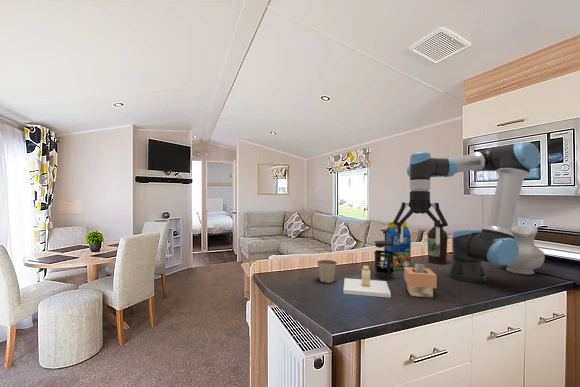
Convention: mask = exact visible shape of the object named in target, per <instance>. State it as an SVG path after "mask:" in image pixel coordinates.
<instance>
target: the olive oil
mask: <svg viewBox="0 0 580 387" xmlns="http://www.w3.org/2000/svg"><path fill="white" fill-rule="evenodd" d="M437 220H438V221H439V222H440V223H441V220H440V219H437ZM433 224H434V226H432V228H431V229H430V230H429V231H428V233H427V235H426V236H427V237H426V238H427V257H428V258H427V260H428V263H431V264H435V265H446V264H447V253H448V251H447V250H448V240H449V239H448V238H449V236H448V234H447V232H446V230H444V229H443V234H442V236H440V244H436V227H438V226H437V225H436V223H435V222H434V221H433Z"/></svg>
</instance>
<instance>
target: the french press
mask: <svg viewBox="0 0 580 387" xmlns="http://www.w3.org/2000/svg"><path fill="white" fill-rule="evenodd" d="M379 231H380V232H382V234H383V235H385V231H389V230H387V228H386V229H383V228H382V229H381V228H380V229H379ZM374 244H375V248H385V246H391V247H393V244H394V242H390V241H385V240H375V241H374ZM373 252H374V255H373V256H374V269H373V273H374V274H373V277H374V278H375V279H377V280H380V281H391V280H394V279H395V274H394V273H395V270H393V256H394V253H393V252H390V251H384V250H381V249H380V250H379V249H377V250H375V251H373ZM384 253H386V254H384ZM384 257H387V262H385V261H384V260H383V261H382V258H384ZM385 267H387V268H385Z"/></svg>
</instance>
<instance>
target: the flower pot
mask: <svg viewBox="0 0 580 387" xmlns="http://www.w3.org/2000/svg"><path fill="white" fill-rule="evenodd" d="M316 264H317V267H318V275H319V281H320V282H321V283H326V284H328V283H329V284H330V283H333V282H335V280H334V279H335V273H336V267H337V265H338V262H337V261H336V260H331V259H321V260H320V259H319V260H317V261H316Z"/></svg>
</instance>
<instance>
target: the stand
mask: <svg viewBox="0 0 580 387" xmlns="http://www.w3.org/2000/svg"><path fill="white" fill-rule="evenodd" d="M414 268H415V272H416V273H424V268H425V264H423V263H414ZM406 290H407V291H408V293H409V295H410V296H411V297H423V298H432V299H433V298H434V288H425V287H411V286H408V284H407V283H406Z"/></svg>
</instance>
